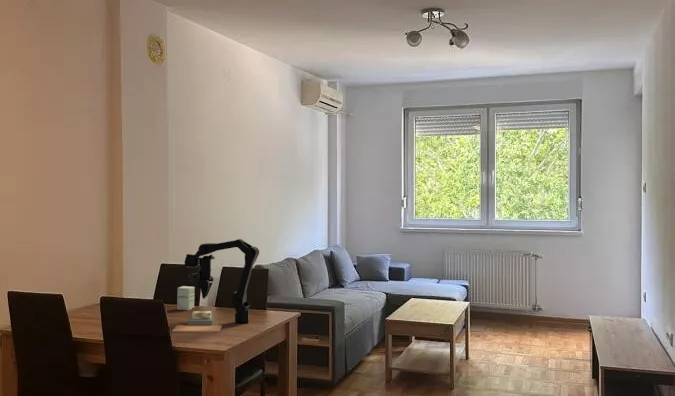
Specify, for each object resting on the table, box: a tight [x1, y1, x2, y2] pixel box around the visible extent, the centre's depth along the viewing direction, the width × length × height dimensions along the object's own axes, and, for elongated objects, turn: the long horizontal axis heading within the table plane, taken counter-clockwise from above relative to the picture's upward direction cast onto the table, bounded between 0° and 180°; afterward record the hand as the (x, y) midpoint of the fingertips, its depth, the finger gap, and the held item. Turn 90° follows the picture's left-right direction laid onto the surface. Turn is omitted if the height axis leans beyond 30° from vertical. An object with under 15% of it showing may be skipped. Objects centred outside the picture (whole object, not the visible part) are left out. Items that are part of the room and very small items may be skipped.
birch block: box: [191, 310, 213, 319], centre depth 310 cm, size 9×5×3 cm, turn 93°
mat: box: [171, 324, 223, 333], centre depth 298 cm, size 22×12×1 cm, turn 93°
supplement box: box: [176, 285, 196, 311], centre depth 350 cm, size 7×7×13 cm
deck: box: [186, 316, 216, 326], centre depth 309 cm, size 12×10×3 cm
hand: (204, 297), depth 319 cm, fingers open, 6 cm apart
